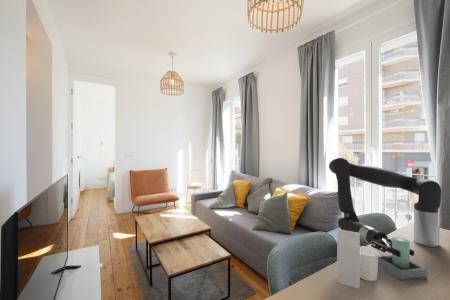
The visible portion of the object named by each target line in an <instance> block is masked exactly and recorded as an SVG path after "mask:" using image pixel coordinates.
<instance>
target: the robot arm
mask: <svg viewBox="0 0 450 300" xmlns="http://www.w3.org/2000/svg"><path fill="white" fill-rule="evenodd" d="M328 168H329V170H330V172H331V173H333V174H335V177H336V181H337V182H336V183H337V201H338V202H337V203H338V209H339V211H340V212H341V213H344V214H346V215H347V216H343V217H340V218H339V219H338V221H337V225H338V228H339V230H345V231H351V232H357V233H360V239H362V240H363V241H364V242H366V243H368V244H369V245H370V248H371V247H372V249H374V250H376V251H380V252H381V253H386V252H387V254H388V253H389V254H391V255H392V254H394V255H396V256H397V257H400V256H401V252H400V251H398V250H396V249H394V248H393V247H392V238H389V237H388V235H387V234H386V233H385V232H383V231H381V230H379V229H377V228H375V227H372V226H369V225H367V224H365V223H364V222H361V221H360V219H359V218H358V216H357V213H356V211H355V207H354V202H353V197H352V190H351V178H355V179H359V180H361V181H364V182H367V183H371V184H375V185H377V186H381V187H387V188H392V189H393V188H395V189H396V188H397V189H401V190H405V191H408V192H411V193H412V194H416V195H418V201H417V202H415V203H414V204H413V241H414V242H415V243H416V244H418V245H421V246H425V247H431V248H432V247H433V248H434V247H435V248H436V247H438V246H440V239H441V237H440V235H441V233H440V230H441V229H440V228H441V227H440V226H439V209H440V207H441V201H442V188H441V185H440V184H439V183H438V182H437V181H434V180H431V179H426V178H421V177H420V178H419V177H415V176H414V177H413V176H408V175H404V174H400V173H397V172H396V171H392V170H389V169H387V168H386V169H385V168H382V167H377V166H370V165H360V164H354V163H351V162H349V160H348V159H346V158H344V157H337V158H333V159H332V160H331V161H330V162H329V164H328ZM414 256H415V250H414V249H411V248H410V257H414Z"/></svg>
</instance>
